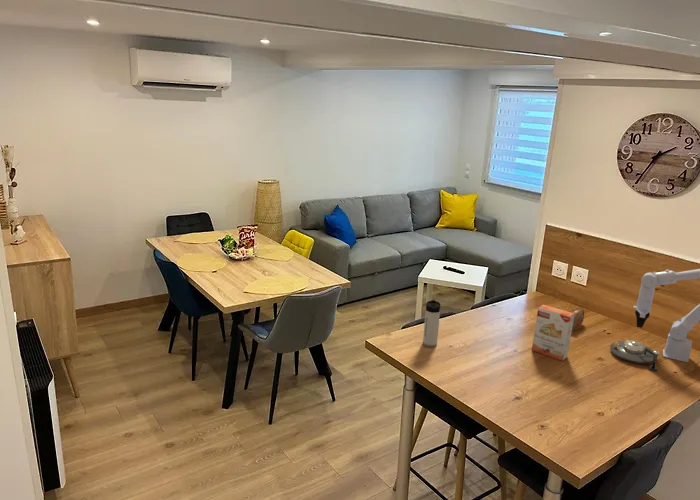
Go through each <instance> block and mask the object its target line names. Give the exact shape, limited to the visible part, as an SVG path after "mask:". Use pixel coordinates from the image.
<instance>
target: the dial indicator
mask: <svg viewBox="0 0 700 500" xmlns="http://www.w3.org/2000/svg"><path fill="white" fill-rule="evenodd" d="M646 352H649V353H650V354H652V355H654V358H653V362H652V363H651V364H648V371H653V372H658V366H656V365H657V360H658V355H660V354H661V352H660V351H659V350H655V349H653V352H652V351H651V350H649V349H647V348H645V351H644V354H645V355H646Z"/></svg>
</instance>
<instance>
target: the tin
mask: <svg viewBox="0 0 700 500" xmlns="http://www.w3.org/2000/svg"><path fill="white" fill-rule="evenodd" d="M571 313H574V314H575V316H574V321H573V327H572V331H576V330H577V329H578V328H579V327H581V326H582V324H583V322H584V318H585V311H584V310H583V309H580V308H577V309H575V310H574V311H572V312H571Z"/></svg>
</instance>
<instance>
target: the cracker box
mask: <svg viewBox="0 0 700 500" xmlns="http://www.w3.org/2000/svg"><path fill="white" fill-rule="evenodd" d="M574 316H575V314H574V313H572V312H571V311H566V310H564V309H560V308H556V307H553V306H550V305H546V304H541V305H540V306H539V307H538V308H537V314H536V320H535V327H534V331H533V339H532V347H531V351H533V352H534V353H535V352H536V353H539V354H540V355H544V356H547V357H550V358H552V359H556V360H559V361H562V362H564V361H565V360H566V359H567V357H568V354H569V350H570V343H571V337H572V331H573V330H572V327H573V321H574Z"/></svg>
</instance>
